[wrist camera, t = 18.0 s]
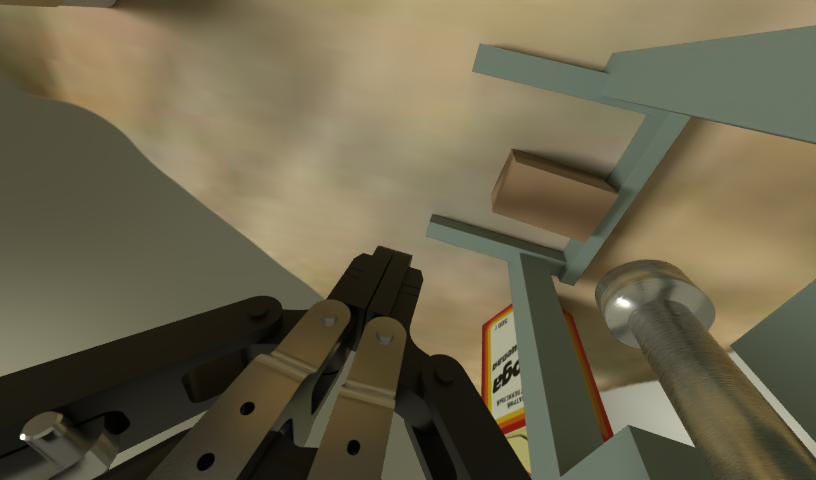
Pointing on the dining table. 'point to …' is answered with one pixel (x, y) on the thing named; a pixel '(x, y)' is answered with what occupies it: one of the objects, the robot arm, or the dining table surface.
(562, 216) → the block
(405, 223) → the dining table surface
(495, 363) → the baking soda box
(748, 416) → the ram
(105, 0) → the coffee cup
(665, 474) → the frame
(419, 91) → the dining table surface
